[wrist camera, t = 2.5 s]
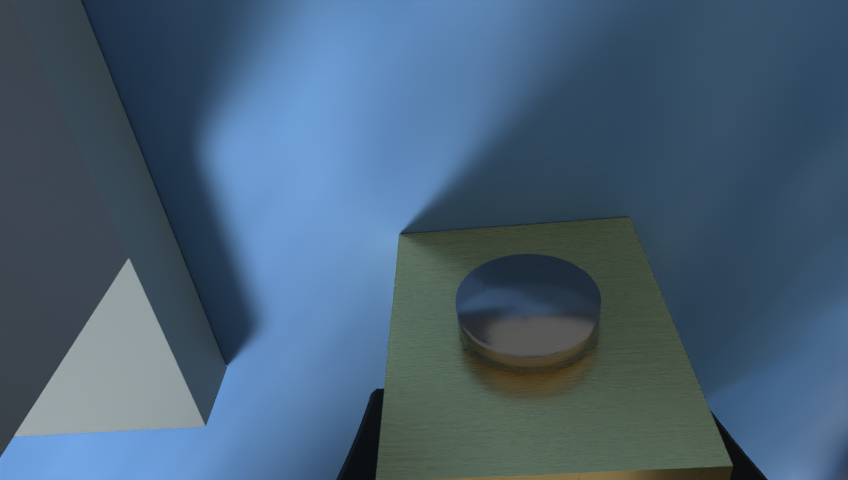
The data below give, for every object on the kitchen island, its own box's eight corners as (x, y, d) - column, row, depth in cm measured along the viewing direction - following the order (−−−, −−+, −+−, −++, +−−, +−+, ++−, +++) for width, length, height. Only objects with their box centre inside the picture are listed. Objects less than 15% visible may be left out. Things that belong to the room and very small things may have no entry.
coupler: (631, 191, 11) (740, 436, 7) (610, 454, 15) (671, 706, 11) (395, 211, 11) (369, 454, 7) (435, 462, 15) (432, 710, 11)
